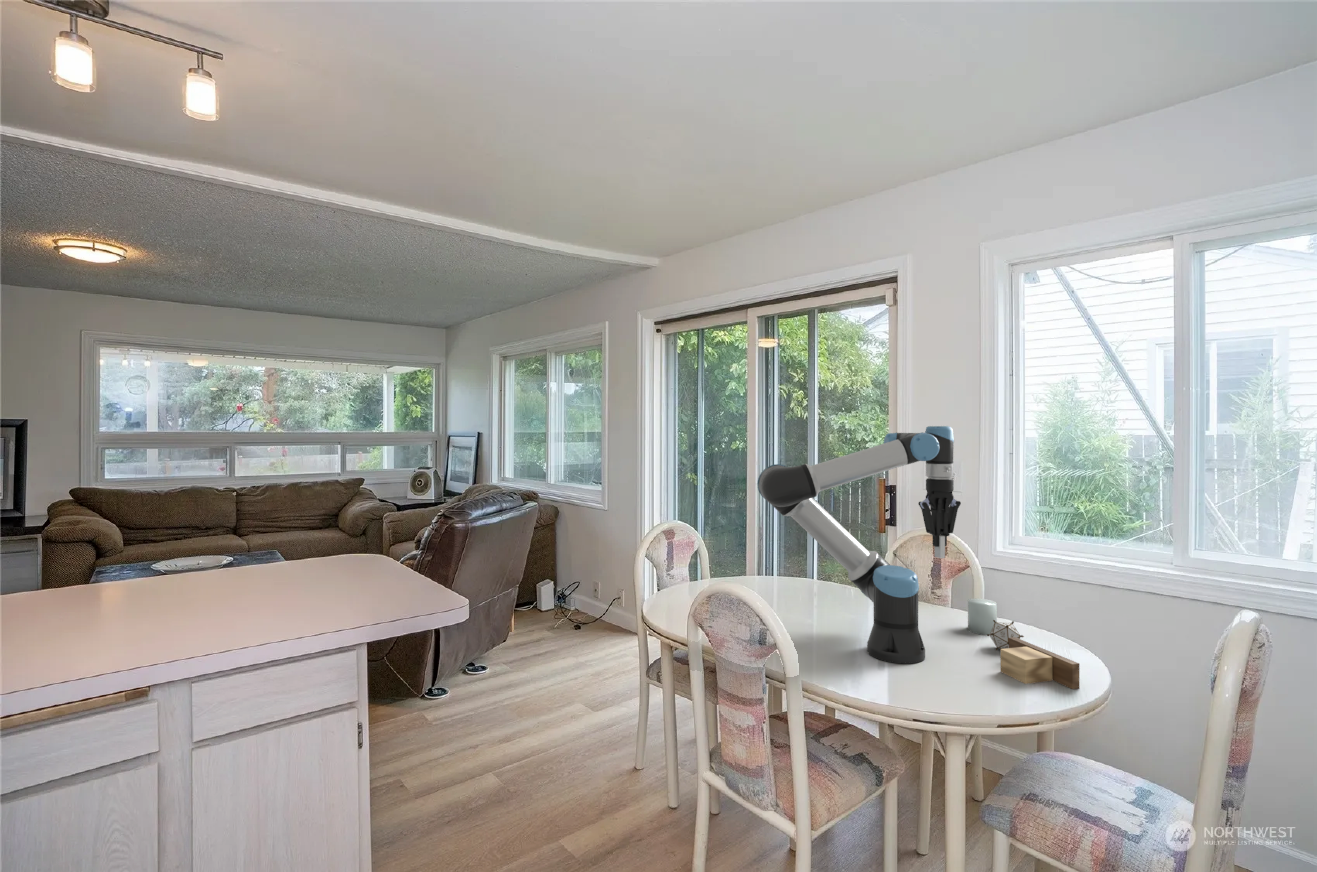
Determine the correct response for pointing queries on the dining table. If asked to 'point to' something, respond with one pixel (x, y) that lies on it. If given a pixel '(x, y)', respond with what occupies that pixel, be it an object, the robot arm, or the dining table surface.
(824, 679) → the dining table surface
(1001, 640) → the game die
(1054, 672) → the board
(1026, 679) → the block
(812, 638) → the dining table surface
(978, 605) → the sage green cylinder
